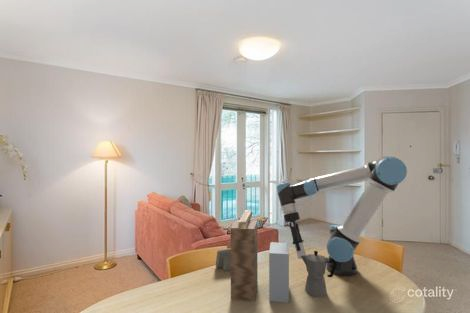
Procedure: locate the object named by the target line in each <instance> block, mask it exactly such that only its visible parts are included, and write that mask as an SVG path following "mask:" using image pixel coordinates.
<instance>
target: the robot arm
mask: <svg viewBox="0 0 470 313" xmlns="http://www.w3.org/2000/svg"><path fill="white" fill-rule="evenodd" d="M407 174H408V169H407V165H406V164H405V162H404V161H403V160H401V159H400V158H398V157H396V156H383V157H381V158H378V159H376V160H373V161H371V162H366V163H365V165H361V166H357V167H353V168H350V169H344V170H341V171H338V172H337V171H336V172H332V173H329V174H325V175H320V176H316V177H311V178H306V179H304V180H302V181H301V182H297V183H295V184H291V183H290V182H287V181H285V182H282V183H279V184H278V185H276V192H277V196H278V201H279V202H280V206H281V208H280V211H282V214H283V219H284V223H289V224H288V225H289V229H290V232H291V237H292V245H294V248H295V252H296V255H297V259H302V258H301V256H303V255H307V253H306V249H305V246H304V243H305V241H304V239H302V236H301V235H302V234H301V232H300V228H299V224H298V222H296V221H299V220H300V219H301V217H300V214H299V212H298V206H297V203H296V200H298V199H302V198H305V197H310V196H311V197H312V196H314V195H317V194H318V192H321V191H325V190H331V189H335V188H339V187H345V186H349V185H354V184H358V183H363V182H367V181H368V182H369V183H368V184H367V186H366V187H365V189H364V190H363V192H362V194H361V195H360V197H359V198H358V200H357V201H356V203H355V205H354V207H353V208H352V209H351V211H350V213H349V214H348V216H346V217H347V218H346V219H345V221H344V222H343V224H342V225H341V224H332V225H330V226H329V238H328V240H327V241H328V242H327V244H326V251H327V254H328V257H327V258H333V259H334V260H335V261H336V262H337V267H336V269H335V272H334V274H335V275H339V276H345V277H346V276H347V277H349V276H355V275H356V274H357V273H358V266H357V262H356V260H355V256H354V255H355V251H356V249H357V247H358V246H359V245H360V243H361V238H360V236H361V234H362V233H363V231H364V230H365V228H366V227H367V226H368V224H369V222H370V221H371V219H372V218H373V216H375V213H377V210H378V209H379V207H380V206H381V205H382V202H383V201H384V200H385V198H386V197H387V195H388V194H390V193H393V192H395V190H396V189H397V187H398V185H399V184H400V183H402V182H403V181H404V180H405V179H406V177H407ZM332 265H333V263H326V269H327V271H328V272H330V273H331V269H332ZM334 274H333V275H334Z"/></svg>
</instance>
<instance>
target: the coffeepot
mask: <svg viewBox="0 0 470 313" xmlns="http://www.w3.org/2000/svg"><path fill="white" fill-rule="evenodd" d="M318 253H319V252H318V251H317V250H313V254H312V253H309V254H306V255H303V256H301V259H302V261H303V262H304V265H305V266H306V272H307V276H306V283H305V288H304V290H305V292H306V294H308V295H309V296H313V297H317V298H318V297H323V296H326V295H327V293H328V292H327V285H326V281H325V276H324V275H325V273H326V269H327V268H326V263H333V265H332V269H331V272H330V273H329V274H327V275H326V276H327V277H328V278H333V277H334V272H335V269H336V267H337V262H336V261H335V260H334V259H333V258H328V257H325V256H324V255H321V254H318Z"/></svg>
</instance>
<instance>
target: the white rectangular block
mask: <svg viewBox="0 0 470 313" xmlns="http://www.w3.org/2000/svg"><path fill="white" fill-rule="evenodd" d="M269 243H270V244H269V252H268V268H269V269H268V275H269V276H268V282H269V284H268V287H269V288H268V290H269V291H268V292H269V293H268V299H269V300H268V302H275V303H290V274H289V273H290V250H289V243H288V242H275V241H272V242H269Z"/></svg>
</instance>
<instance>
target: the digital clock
mask: <svg viewBox="0 0 470 313" xmlns="http://www.w3.org/2000/svg"><path fill="white" fill-rule="evenodd" d="M215 259H216V260H215V268H217V269H223V270H224V271H225V272H228V271H230V272H231V247H229V248H223V249H218V250H217V251H216V258H215Z"/></svg>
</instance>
